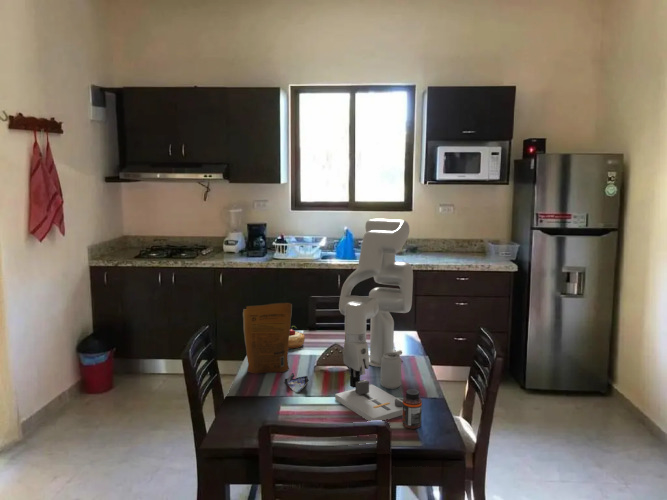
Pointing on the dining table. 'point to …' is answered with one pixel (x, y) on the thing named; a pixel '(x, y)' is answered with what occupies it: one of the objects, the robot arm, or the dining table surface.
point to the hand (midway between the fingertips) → (354, 386)
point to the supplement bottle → (412, 409)
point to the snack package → (297, 382)
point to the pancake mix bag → (267, 337)
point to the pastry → (295, 339)
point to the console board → (372, 403)
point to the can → (391, 370)
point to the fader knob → (362, 387)
